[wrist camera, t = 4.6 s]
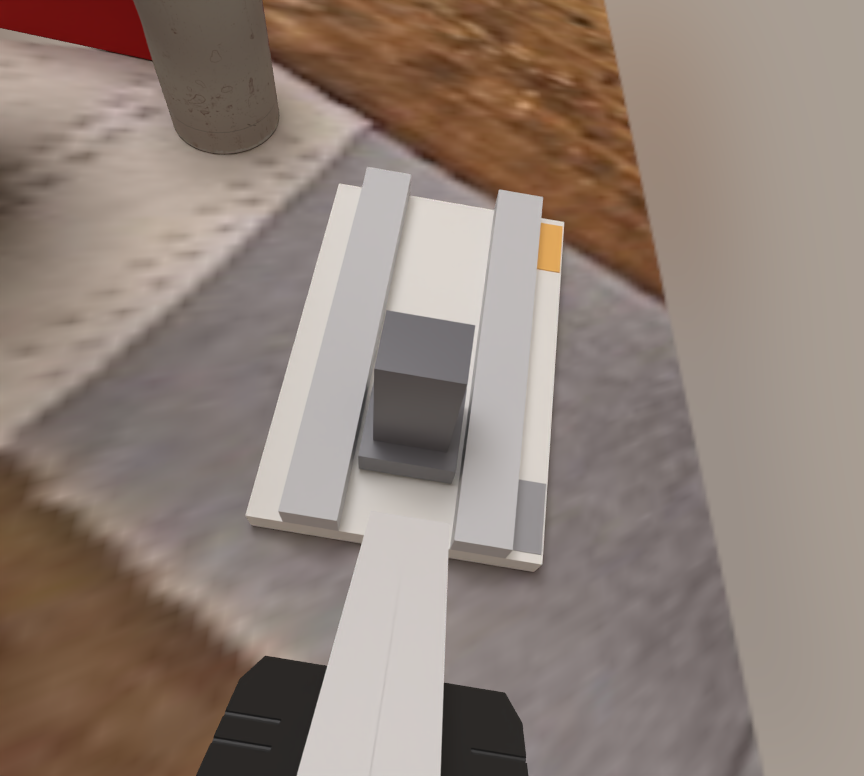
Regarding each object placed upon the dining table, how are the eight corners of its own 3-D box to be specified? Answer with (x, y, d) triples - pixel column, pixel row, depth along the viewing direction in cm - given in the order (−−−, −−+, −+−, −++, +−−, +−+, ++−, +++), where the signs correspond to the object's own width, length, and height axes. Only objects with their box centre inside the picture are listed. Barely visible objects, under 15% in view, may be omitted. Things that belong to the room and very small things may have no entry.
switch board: (533, 571, 36) (551, 556, 33) (251, 525, 36) (238, 504, 33) (556, 240, 47) (572, 202, 44) (340, 203, 47) (337, 161, 44)
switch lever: (451, 484, 36) (478, 407, 27) (358, 468, 36) (355, 387, 27) (462, 403, 38) (490, 309, 29) (375, 389, 38) (377, 289, 29)
